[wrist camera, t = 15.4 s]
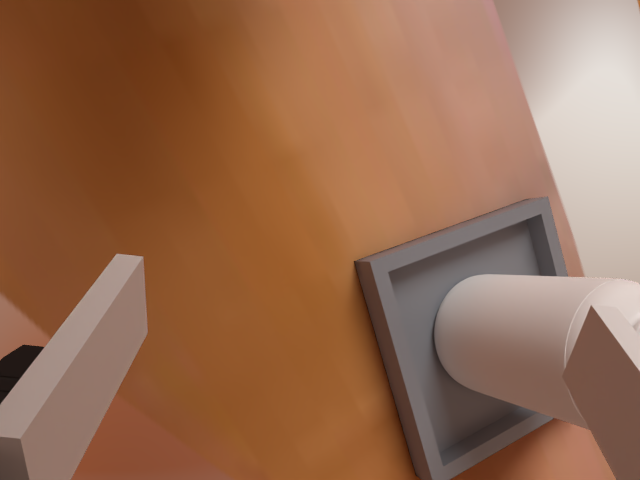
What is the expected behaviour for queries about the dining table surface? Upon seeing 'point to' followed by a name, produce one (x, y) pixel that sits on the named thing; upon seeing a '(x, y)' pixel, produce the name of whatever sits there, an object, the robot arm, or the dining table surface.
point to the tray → (419, 322)
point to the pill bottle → (524, 334)
